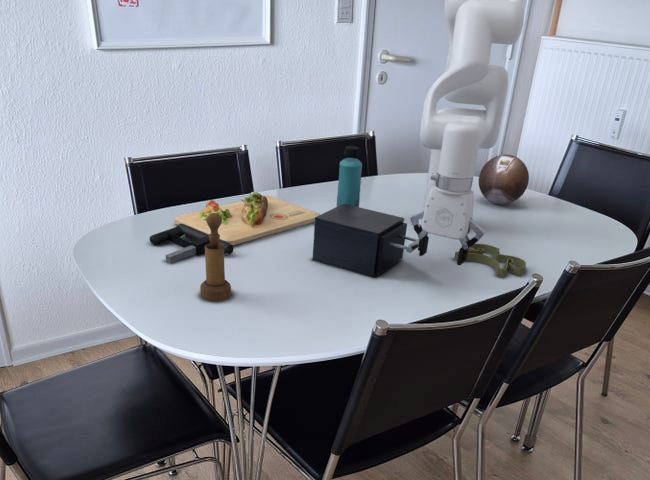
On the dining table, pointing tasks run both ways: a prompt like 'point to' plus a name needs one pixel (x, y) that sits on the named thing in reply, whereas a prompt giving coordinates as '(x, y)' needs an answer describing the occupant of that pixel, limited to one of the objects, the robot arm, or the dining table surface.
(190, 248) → the toy gun
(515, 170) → the wooden sphere
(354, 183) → the beverage bottle
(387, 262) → the drawer
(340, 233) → the dark grey metal box
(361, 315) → the dining table surface
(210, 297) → the mortar and pestle
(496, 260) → the cookie cutter
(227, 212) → the cutting board
